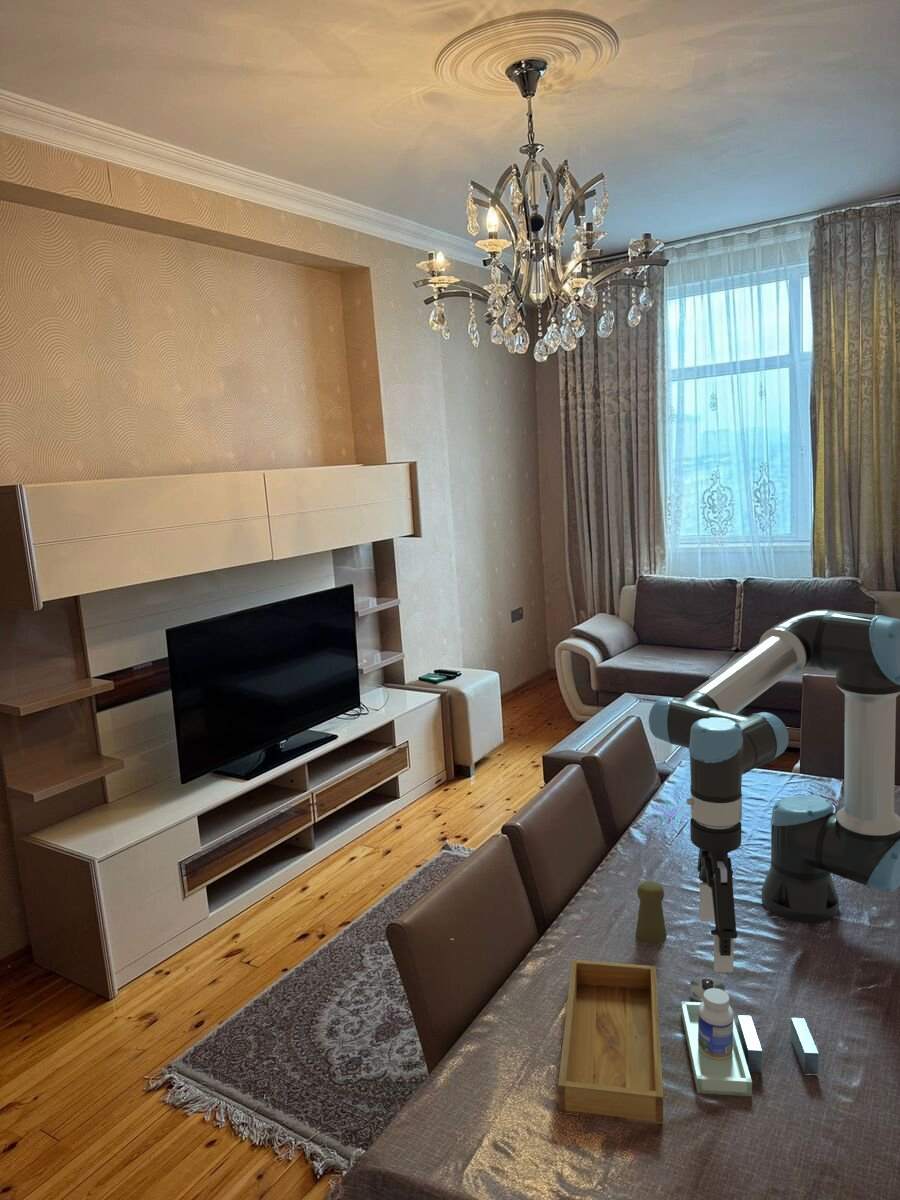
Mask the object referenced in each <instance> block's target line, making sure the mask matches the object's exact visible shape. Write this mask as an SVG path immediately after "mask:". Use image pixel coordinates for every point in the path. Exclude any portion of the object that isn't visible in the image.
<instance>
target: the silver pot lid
mask: <svg viewBox="0 0 900 1200" xmlns="http://www.w3.org/2000/svg"><path fill="white" fill-rule="evenodd" d="M710 988H717V989H721V990H723V991H725V992H726V987H725V984H723V982H721V981H720V980H718V979H716V978H714V977H710V976H698V977H695V978H693V979H692V980H690V983H689V998H690V999H691V1002H703V995H704V992H705V991H706V990H707V989H710Z"/></svg>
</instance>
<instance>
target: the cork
mask: <svg viewBox="0 0 900 1200" xmlns="http://www.w3.org/2000/svg"><path fill="white" fill-rule="evenodd" d="M637 896H638V899H639V900H640V901H639V906H638V907H639V908H638V915H637V922H636V930H635V936H636V937H637V939H639V940H640V942H644V943H646V944H659V943H662V942H664V941H665V940H667V931H666V930H667V929H666V925H665V916H664V910H663V905H662V903H663V902H662V901H663V899H664V896H665V891H664V887H663V886H662V885H661V884H660V883H659V882H656V881H652V880H648V881H647V880H646V881H643V882H640V884H639V885H638V888H637Z"/></svg>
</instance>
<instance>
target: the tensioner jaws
mask: <svg viewBox="0 0 900 1200" xmlns="http://www.w3.org/2000/svg"><path fill="white" fill-rule="evenodd" d="M790 1019H791V1021H790V1023H791V1024H790V1041H791V1044H792V1046H793V1049H794V1051H795V1055H796V1056H797V1059H799V1060H798V1062H799V1065H800V1068H801V1067H802V1068H801V1069H803V1070H802V1073H803V1072H804V1073H803V1075H804V1074H809V1073H810V1074H818V1075H819V1057H820V1056H819V1055H820V1053H819V1051H818V1049H817V1045H816V1044H815V1041H814V1039H813V1036H812V1034H811V1032H810V1029H809V1027H808V1024H807V1022H806V1020H805V1018H803V1017H802V1018H801V1017H800V1018H799V1017H791V1018H790ZM754 1024H755V1023H754V1022H753V1019H752V1016H751V1015H738V1017H737V1032H738V1035H739V1039H740V1042H741V1046H742V1049H743V1053H744V1056H745V1059H746V1063H747V1066H748V1070H749V1073H751V1074H753V1073H755V1074H762V1066H763V1065H762V1064H763V1063H762V1061H763V1060H762V1059H763V1050H762V1047H761V1043H760V1040H759V1038H758V1037H759V1036H758V1034H757V1030H756V1027H755V1025H754Z"/></svg>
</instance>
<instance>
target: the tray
mask: <svg viewBox="0 0 900 1200" xmlns="http://www.w3.org/2000/svg"><path fill="white" fill-rule="evenodd" d="M570 962H571V964H570V972H569V973H570V974H569V981H568V982H569V983H568V994H567V1002H566V1003H567V1004H566V1010H565V1019H564V1020H565V1022H564V1031H563V1041H562V1047H561V1057H560V1065H559V1067H560V1068H559V1077H558V1084H557V1085H558V1088H557V1089H558V1109H559V1113H560V1112H562V1113H561V1114H563V1113H572V1114H578V1115H577V1116H579V1115H582V1116H581V1117H588V1118H596V1117H597V1119H604V1118H606V1120H613V1121H621V1122H631V1123H632V1122H633V1123H639V1124H647V1123H653V1124H652V1125H656V1124H663V1125H664V1090H663V1088H664V1087H663V1073H662V1072H663V1071H662V1054H661V1052H662V1050H661V1039H660V1038H661V1034H660V1019H659V1004H658V1003H659V998H658V985H657V970H656V969H657V968H656V966H655V965H643V964H634V963H633V964H630V963H621V962H609V961H608V962H607V961H599V960H595V961H594V960H583V959H571V961H570Z"/></svg>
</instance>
